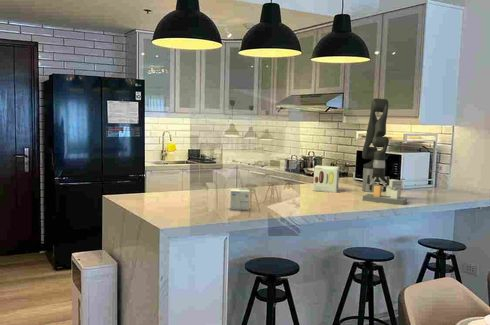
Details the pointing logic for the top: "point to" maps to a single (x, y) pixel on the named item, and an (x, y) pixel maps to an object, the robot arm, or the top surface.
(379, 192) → the orange plug
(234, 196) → the light bulb box
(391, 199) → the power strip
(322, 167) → the supplement box
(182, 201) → the top surface
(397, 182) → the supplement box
